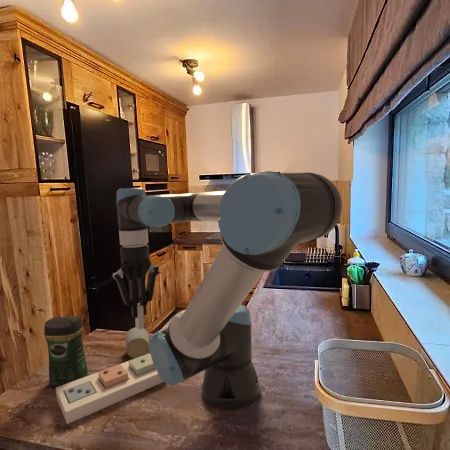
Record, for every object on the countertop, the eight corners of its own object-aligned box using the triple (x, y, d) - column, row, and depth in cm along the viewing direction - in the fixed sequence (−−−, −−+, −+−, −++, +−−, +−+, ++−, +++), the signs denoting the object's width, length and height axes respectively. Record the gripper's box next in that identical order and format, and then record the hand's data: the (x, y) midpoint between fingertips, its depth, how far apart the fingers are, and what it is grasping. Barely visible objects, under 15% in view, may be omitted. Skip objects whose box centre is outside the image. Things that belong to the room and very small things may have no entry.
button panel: (167, 380, 90) (167, 369, 89) (66, 424, 74) (65, 412, 74) (149, 362, 99) (149, 353, 99) (56, 398, 83) (55, 387, 83)
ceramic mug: (126, 362, 100) (125, 338, 99) (125, 350, 108) (124, 328, 107) (160, 356, 103) (159, 333, 102) (157, 344, 111) (156, 323, 110)
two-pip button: (128, 383, 86) (127, 372, 85) (106, 393, 82) (105, 381, 82) (120, 373, 91) (120, 363, 90) (99, 382, 87) (98, 371, 87)
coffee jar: (92, 371, 95) (86, 311, 93) (78, 388, 87) (72, 323, 85) (60, 371, 96) (54, 312, 94) (44, 388, 88) (37, 323, 86)
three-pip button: (96, 402, 81) (95, 390, 80) (70, 413, 77) (69, 401, 77) (89, 391, 86) (88, 380, 85) (65, 401, 82) (64, 389, 82)
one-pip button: (157, 371, 91) (157, 360, 91) (137, 380, 87) (136, 368, 87) (148, 363, 96) (148, 352, 95) (129, 370, 92) (128, 359, 92)
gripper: (150, 240, 94) (155, 316, 97) (105, 246, 86) (112, 329, 89) (162, 243, 88) (167, 324, 91) (115, 250, 80) (122, 339, 83)
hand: (140, 327), depth 90 cm, fingers closed
